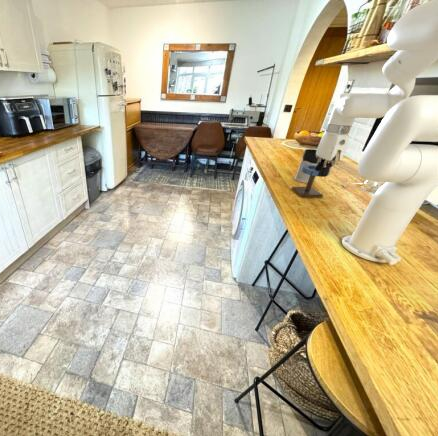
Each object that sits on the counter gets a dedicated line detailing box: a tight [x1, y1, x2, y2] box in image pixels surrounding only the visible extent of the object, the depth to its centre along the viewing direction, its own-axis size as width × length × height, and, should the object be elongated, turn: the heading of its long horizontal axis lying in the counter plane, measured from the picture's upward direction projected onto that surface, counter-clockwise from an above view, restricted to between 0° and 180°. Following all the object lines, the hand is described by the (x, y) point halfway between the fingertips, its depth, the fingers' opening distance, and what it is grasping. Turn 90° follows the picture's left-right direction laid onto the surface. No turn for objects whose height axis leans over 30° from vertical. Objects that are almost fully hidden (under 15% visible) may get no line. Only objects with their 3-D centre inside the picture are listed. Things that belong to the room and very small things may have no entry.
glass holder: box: [293, 148, 332, 184], centre depth 119 cm, size 9×14×15 cm, turn 38°
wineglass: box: [343, 177, 383, 193], centre depth 112 cm, size 7×7×12 cm
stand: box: [291, 169, 324, 199], centre depth 107 cm, size 9×9×12 cm
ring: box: [302, 165, 331, 177], centre depth 104 cm, size 10×10×2 cm
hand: (320, 174), depth 101 cm, fingers closed on ring, 2 cm apart
